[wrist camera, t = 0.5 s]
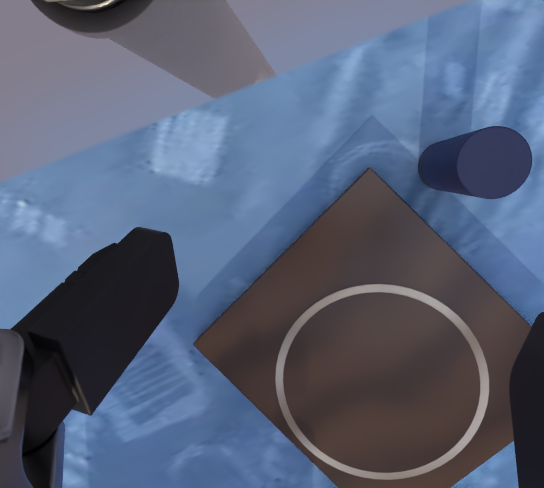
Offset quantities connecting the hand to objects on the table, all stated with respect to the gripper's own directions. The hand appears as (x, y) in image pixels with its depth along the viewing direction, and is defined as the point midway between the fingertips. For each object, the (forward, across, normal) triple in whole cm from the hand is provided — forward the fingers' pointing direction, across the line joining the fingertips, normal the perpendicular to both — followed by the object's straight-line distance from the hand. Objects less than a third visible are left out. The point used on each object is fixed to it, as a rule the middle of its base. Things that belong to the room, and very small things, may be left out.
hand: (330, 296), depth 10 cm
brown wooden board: (+12, -2, +16) cm, 20 cm away
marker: (+18, -3, +5) cm, 19 cm away
